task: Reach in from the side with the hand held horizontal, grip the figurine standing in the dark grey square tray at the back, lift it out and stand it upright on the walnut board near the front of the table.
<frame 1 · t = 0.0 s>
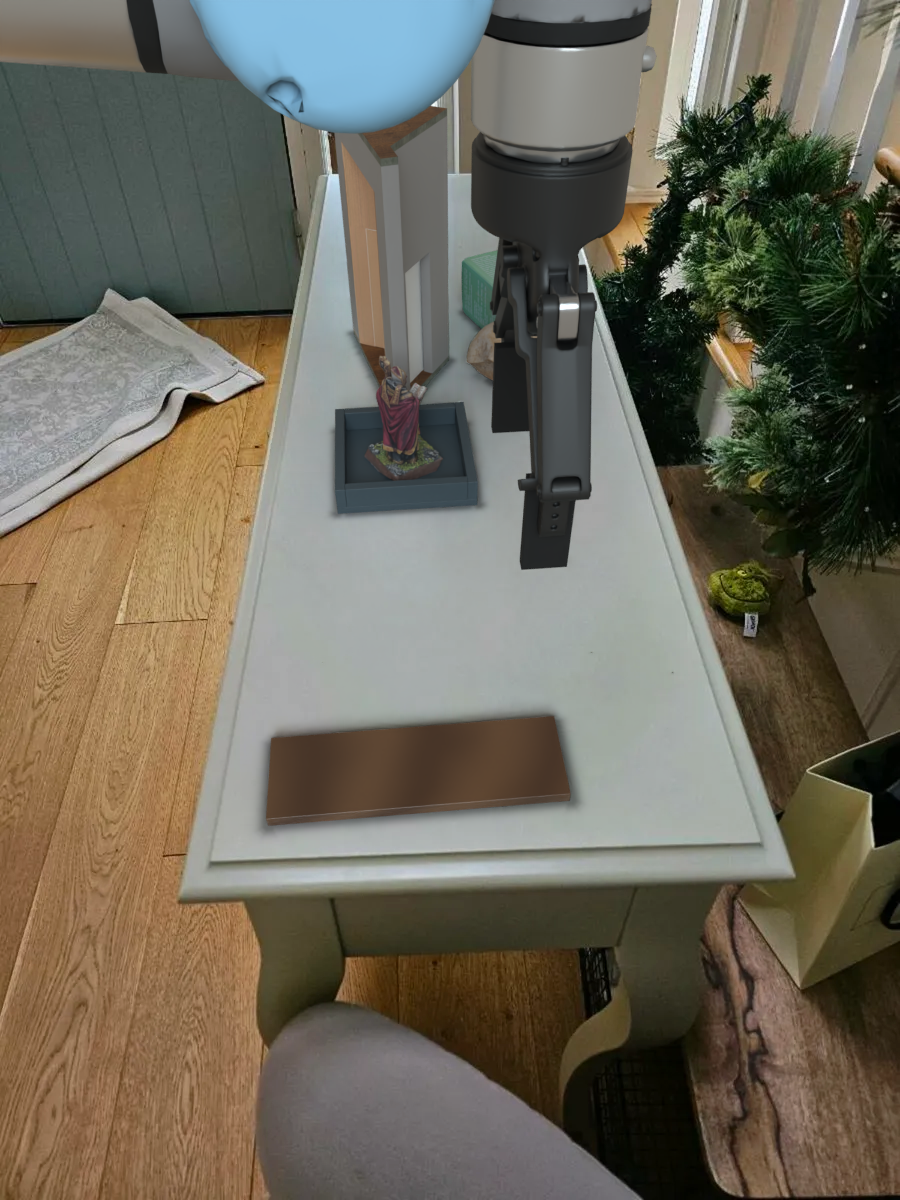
hand: (525, 491, 55), 21 cm above the table, tool pointing down, fingers open, 13 cm apart
dark grey square tray: (404, 466, 91), on the table
stone: (523, 383, 102), on the table
box: (508, 328, 111), on the table
cabinet: (412, 370, 104), on the table
board: (417, 772, 65), on the table
figurine: (404, 462, 90), point 1 cm above the table, touching dark grey square tray
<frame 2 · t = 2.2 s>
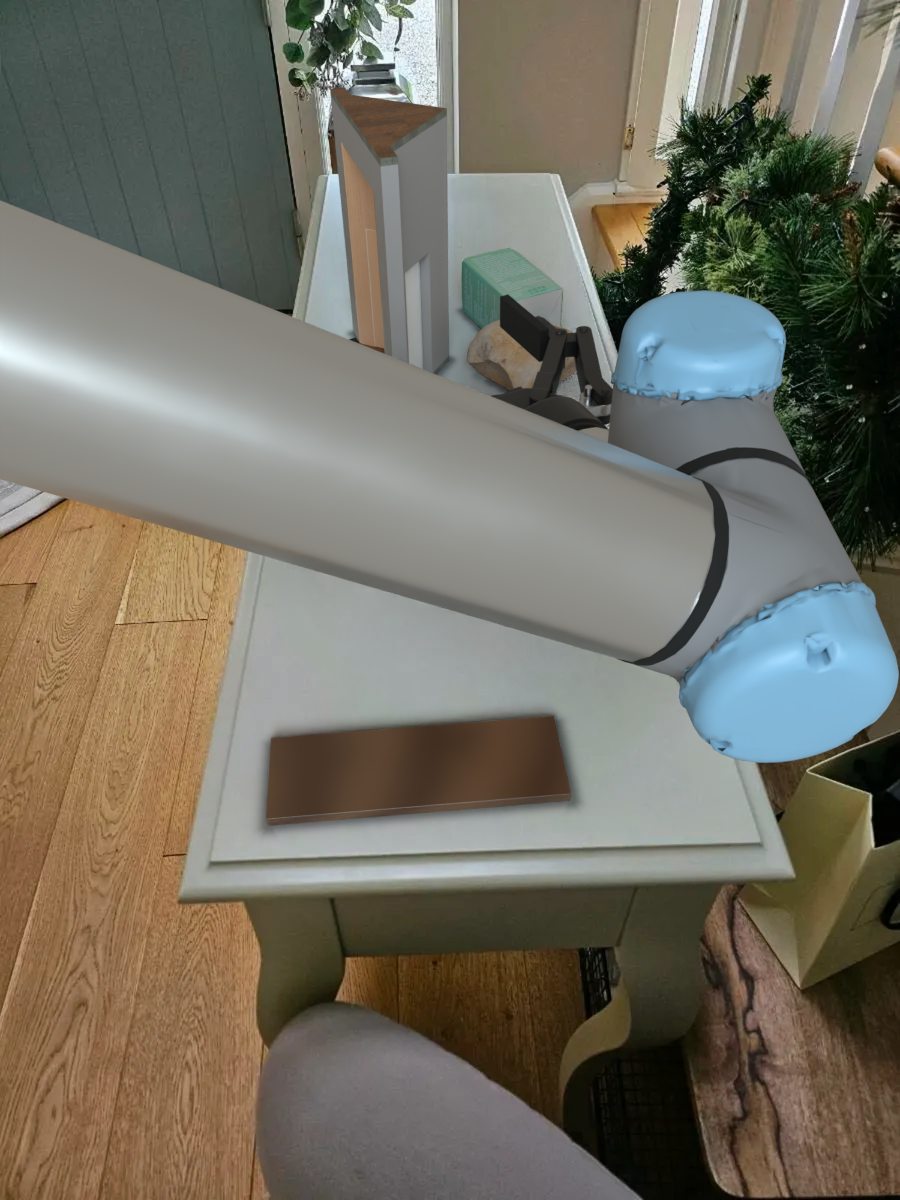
hand: (430, 331, 70), 20 cm above the table, tool horizontal, fingers open, 13 cm apart
nothing on the table moved.
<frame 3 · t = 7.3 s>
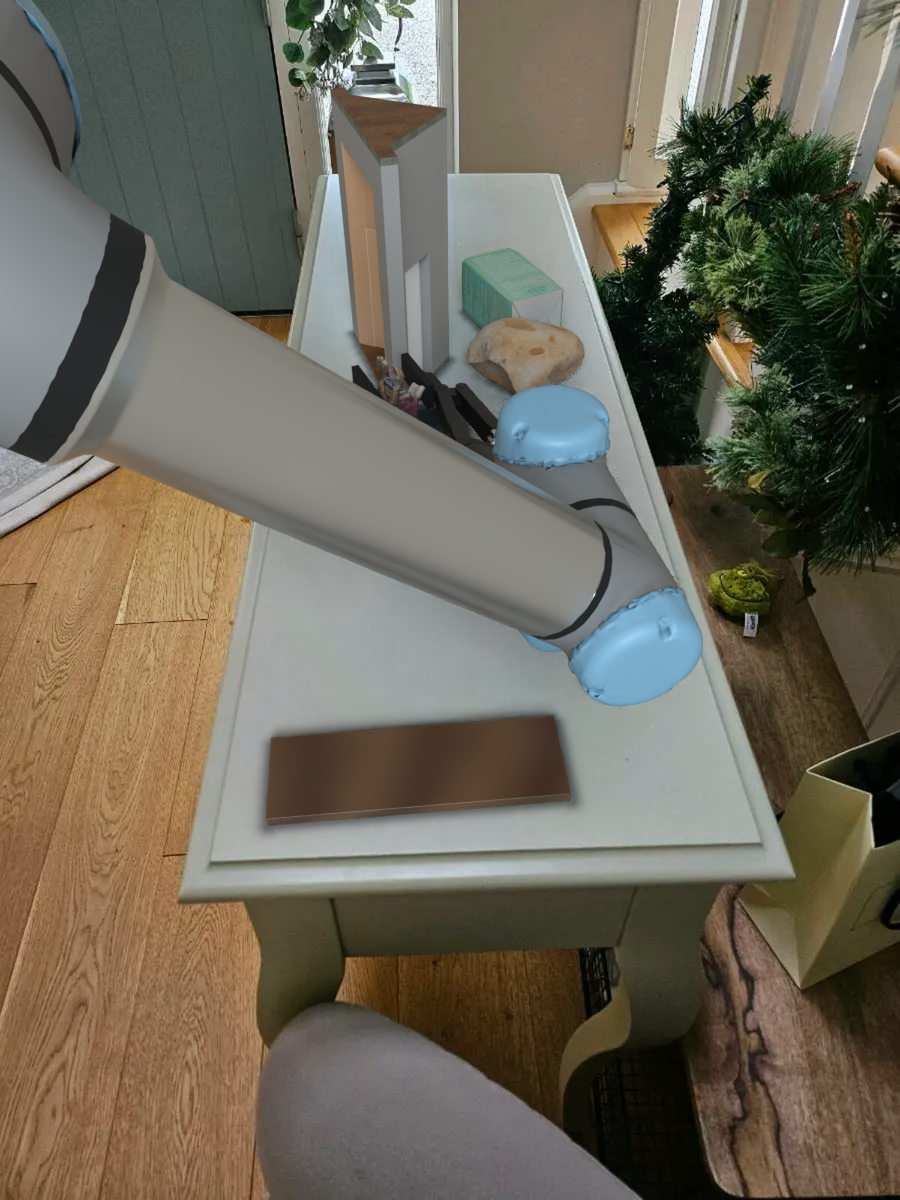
hand: (380, 371, 88), 9 cm above the table, tool horizontal, fingers closed on figurine, 5 cm apart
figurine: (404, 461, 90), point 1 cm above the table, touching dark grey square tray, gripper
everything else where it was.
when the fingers open (9 cm above the table, at t = 16.7 s): figurine stays where it is, resting on board.
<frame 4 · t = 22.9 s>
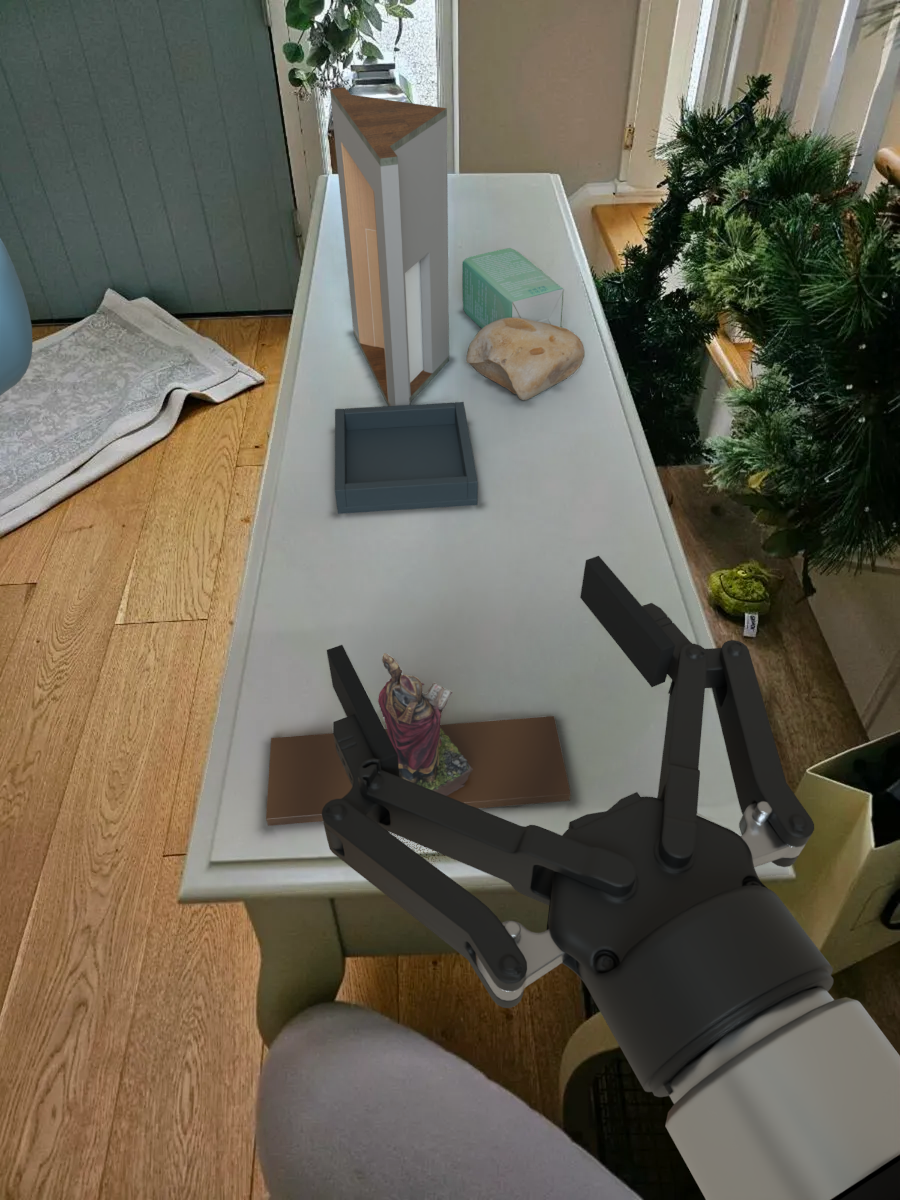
hand: (468, 618, 42), 25 cm above the table, tool horizontal, fingers open, 13 cm apart
figurine: (417, 766, 64), point 1 cm above the table, touching board
everything else where it was.
at the end: figurine inside the target area on the board (0.0 cm from its centre), point 0.8 cm above the board's base; figurine tilted 0°; the gripper is holding nothing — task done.
